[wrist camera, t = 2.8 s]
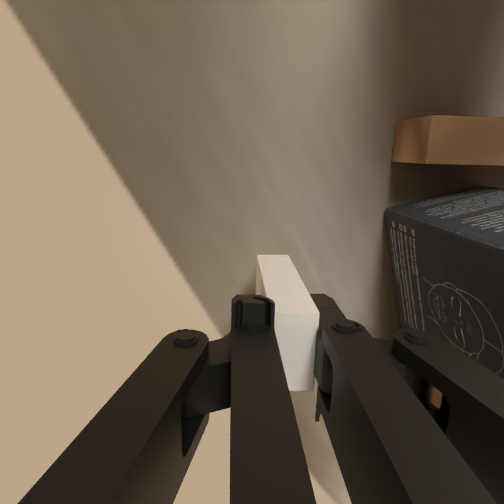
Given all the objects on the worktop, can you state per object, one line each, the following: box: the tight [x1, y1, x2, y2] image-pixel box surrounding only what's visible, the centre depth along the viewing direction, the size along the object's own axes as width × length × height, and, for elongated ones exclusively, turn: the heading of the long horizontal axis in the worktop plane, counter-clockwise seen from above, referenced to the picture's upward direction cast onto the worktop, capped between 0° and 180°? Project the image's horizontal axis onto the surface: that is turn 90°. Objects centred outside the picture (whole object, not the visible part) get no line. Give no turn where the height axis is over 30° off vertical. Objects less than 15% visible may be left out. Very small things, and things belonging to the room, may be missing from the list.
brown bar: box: [392, 115, 504, 408], centre depth 19 cm, size 15×10×4 cm, turn 179°
